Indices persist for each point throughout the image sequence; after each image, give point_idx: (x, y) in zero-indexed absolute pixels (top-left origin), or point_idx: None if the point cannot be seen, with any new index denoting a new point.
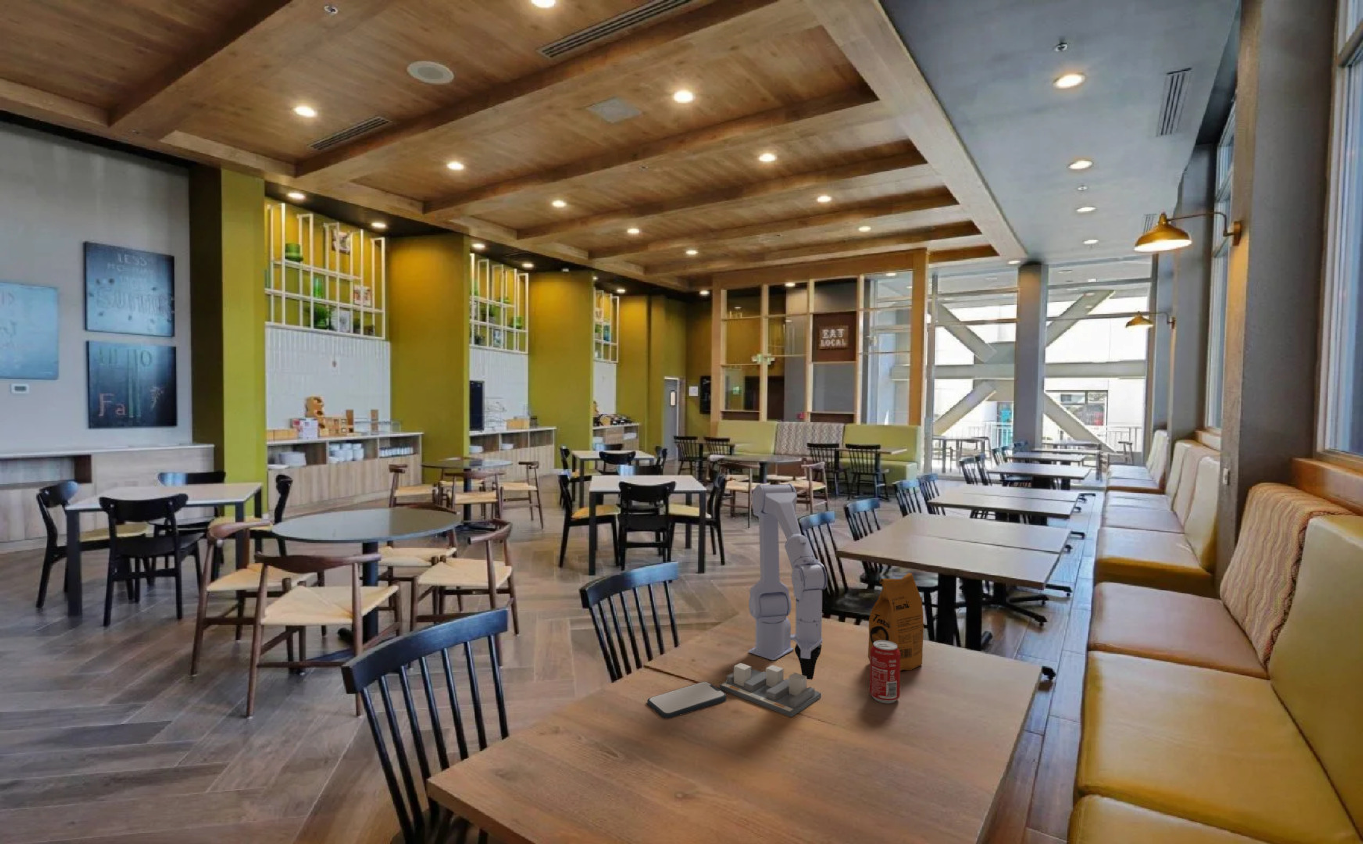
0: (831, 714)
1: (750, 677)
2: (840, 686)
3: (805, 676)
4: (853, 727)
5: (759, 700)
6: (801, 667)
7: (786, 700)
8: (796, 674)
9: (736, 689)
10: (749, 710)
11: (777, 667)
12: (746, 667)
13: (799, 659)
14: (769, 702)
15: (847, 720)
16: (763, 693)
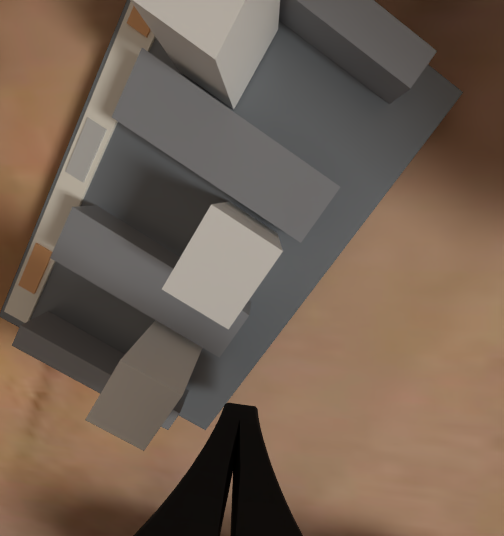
0: (92, 433)
1: (223, 92)
2: (314, 481)
3: (141, 445)
4: (32, 478)
5: (57, 172)
6: (199, 454)
7: (96, 299)
8: (154, 402)
9: (128, 16)
10: (8, 127)
11: (238, 290)
12: (187, 10)
13: (154, 515)
14: (45, 223)
15: (69, 470)
16: (134, 190)
